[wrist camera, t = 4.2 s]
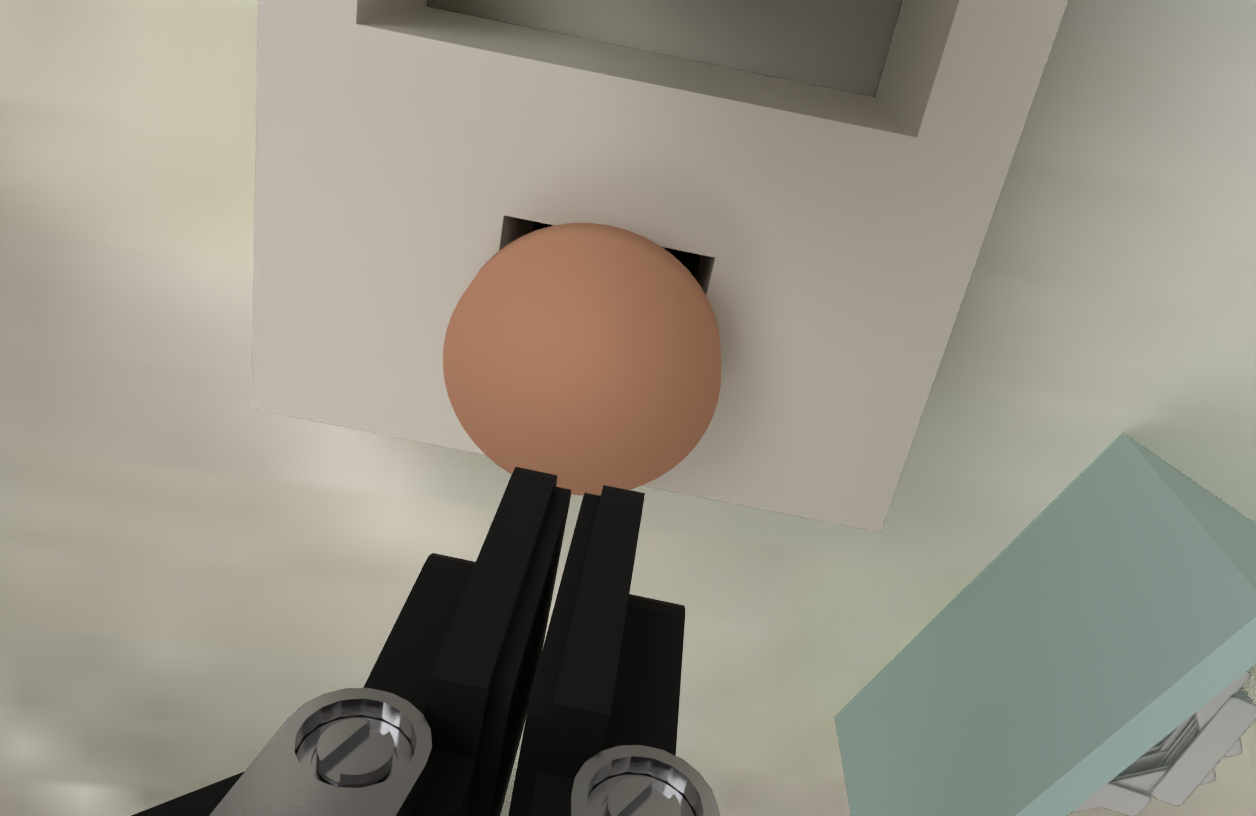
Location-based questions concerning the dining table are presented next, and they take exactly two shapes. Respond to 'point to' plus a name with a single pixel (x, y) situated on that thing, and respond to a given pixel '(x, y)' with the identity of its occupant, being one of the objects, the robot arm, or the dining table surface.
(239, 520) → the dining table surface
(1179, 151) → the dining table surface
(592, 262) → the chicken egg
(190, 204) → the dining table surface
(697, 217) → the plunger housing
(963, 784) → the right angle wall
